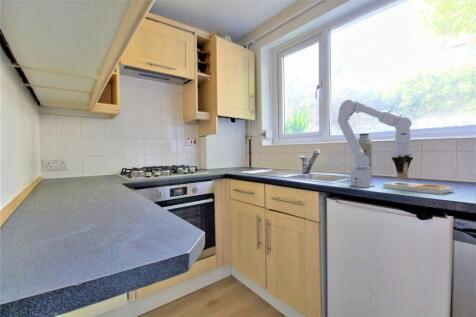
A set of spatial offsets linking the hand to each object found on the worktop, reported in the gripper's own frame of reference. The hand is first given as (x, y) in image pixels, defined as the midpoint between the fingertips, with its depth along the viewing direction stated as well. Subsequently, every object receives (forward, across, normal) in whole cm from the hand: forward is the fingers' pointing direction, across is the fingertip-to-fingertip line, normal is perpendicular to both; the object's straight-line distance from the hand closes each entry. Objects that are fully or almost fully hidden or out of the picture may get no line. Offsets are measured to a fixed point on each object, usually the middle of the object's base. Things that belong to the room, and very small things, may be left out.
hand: (402, 172), depth 109 cm
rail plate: (+7, 0, -6) cm, 9 cm away
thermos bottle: (+8, +14, +26) cm, 31 cm away
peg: (+3, 0, 0) cm, 3 cm away
